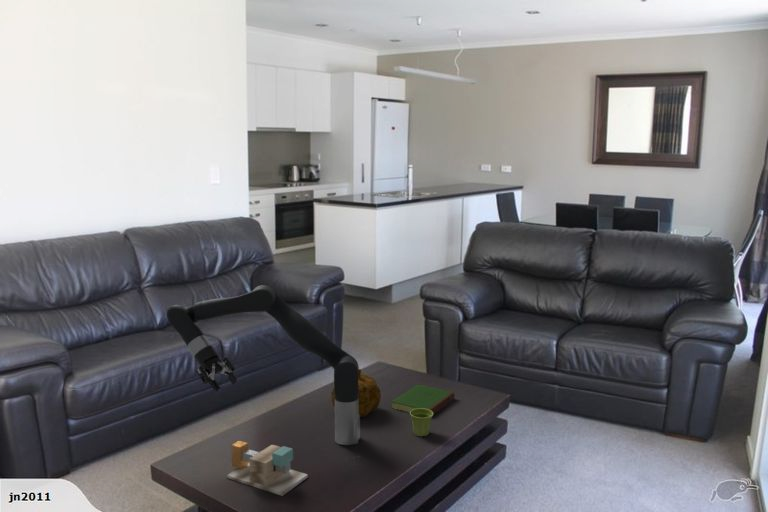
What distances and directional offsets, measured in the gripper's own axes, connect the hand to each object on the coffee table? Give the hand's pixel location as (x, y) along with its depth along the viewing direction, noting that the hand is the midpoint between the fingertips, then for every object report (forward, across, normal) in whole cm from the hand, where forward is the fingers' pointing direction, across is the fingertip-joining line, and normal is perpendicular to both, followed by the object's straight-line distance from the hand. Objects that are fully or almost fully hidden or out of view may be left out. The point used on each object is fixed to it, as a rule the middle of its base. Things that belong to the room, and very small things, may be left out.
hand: (227, 386), depth 230 cm
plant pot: (+56, +53, -18) cm, 80 cm away
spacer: (+34, -5, -6) cm, 35 cm away
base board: (+35, -4, +3) cm, 36 cm away
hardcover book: (+48, +82, -9) cm, 95 cm away
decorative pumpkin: (+32, +58, +6) cm, 67 cm away
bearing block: (+35, -4, +3) cm, 36 cm away
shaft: (+32, -5, +5) cm, 32 cm away
